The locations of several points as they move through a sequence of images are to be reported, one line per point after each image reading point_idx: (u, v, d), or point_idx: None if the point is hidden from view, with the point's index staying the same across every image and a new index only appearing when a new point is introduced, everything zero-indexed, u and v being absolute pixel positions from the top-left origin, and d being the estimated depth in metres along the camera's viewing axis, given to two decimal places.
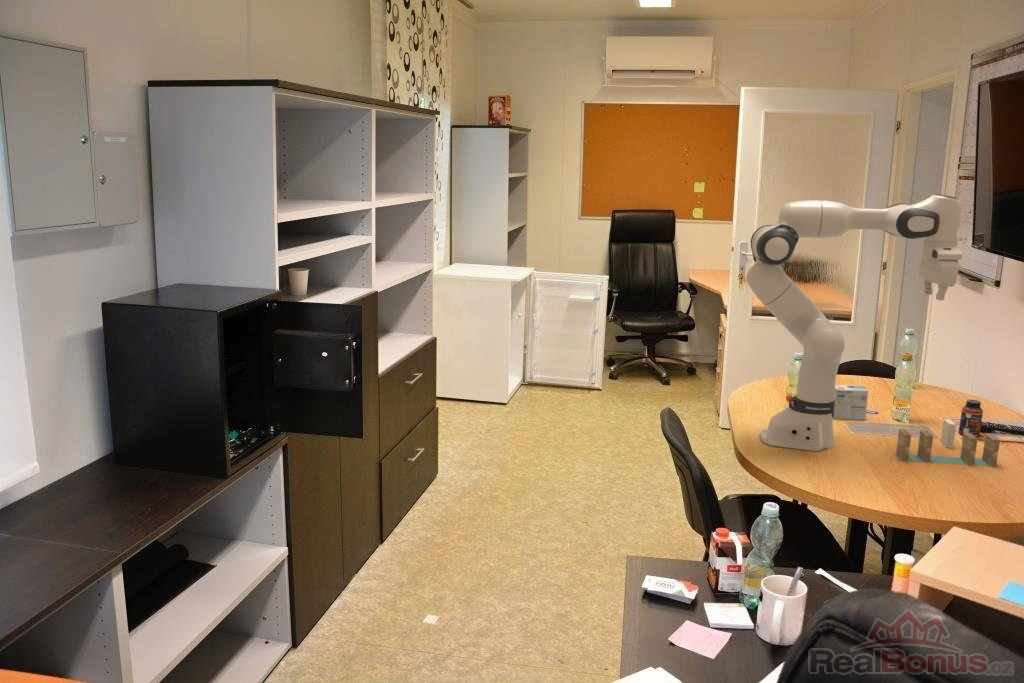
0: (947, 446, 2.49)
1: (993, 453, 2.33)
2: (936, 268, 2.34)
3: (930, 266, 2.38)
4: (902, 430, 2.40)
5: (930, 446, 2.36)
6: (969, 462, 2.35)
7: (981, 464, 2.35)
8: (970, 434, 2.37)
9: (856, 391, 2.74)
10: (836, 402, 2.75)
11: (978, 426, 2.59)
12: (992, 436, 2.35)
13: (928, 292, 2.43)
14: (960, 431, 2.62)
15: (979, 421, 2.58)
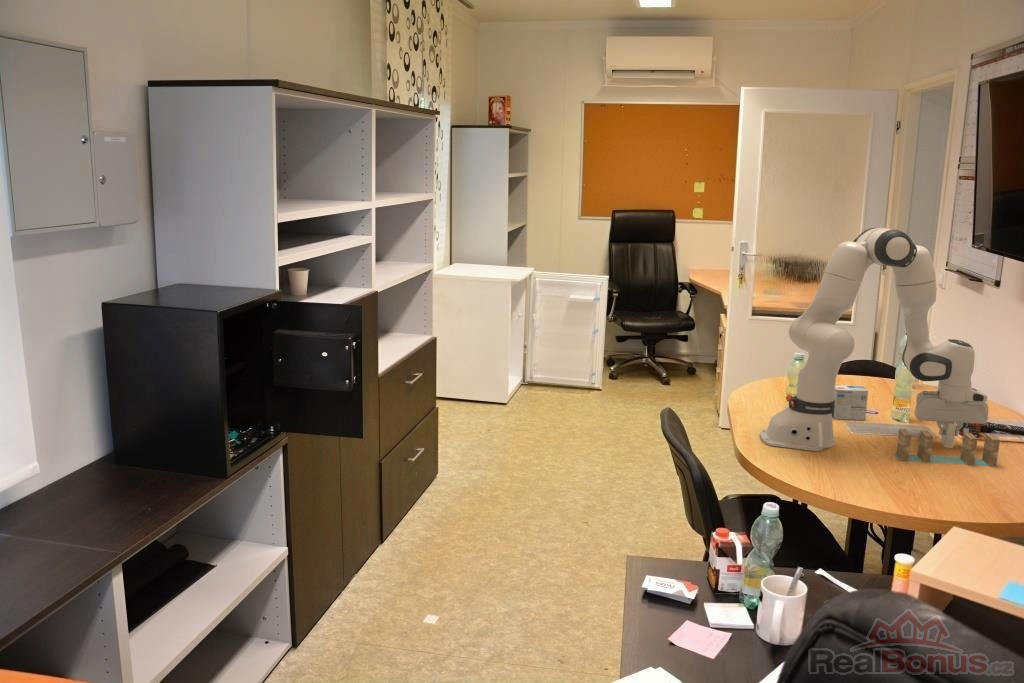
0: (947, 446, 2.49)
1: (993, 453, 2.33)
2: (966, 409, 2.46)
3: (950, 408, 2.47)
4: (902, 430, 2.40)
5: (930, 446, 2.36)
6: (969, 462, 2.35)
7: (981, 464, 2.35)
8: (970, 434, 2.37)
9: (856, 391, 2.74)
10: (836, 402, 2.75)
11: (978, 426, 2.59)
12: (992, 436, 2.35)
13: None
14: (960, 431, 2.62)
15: None
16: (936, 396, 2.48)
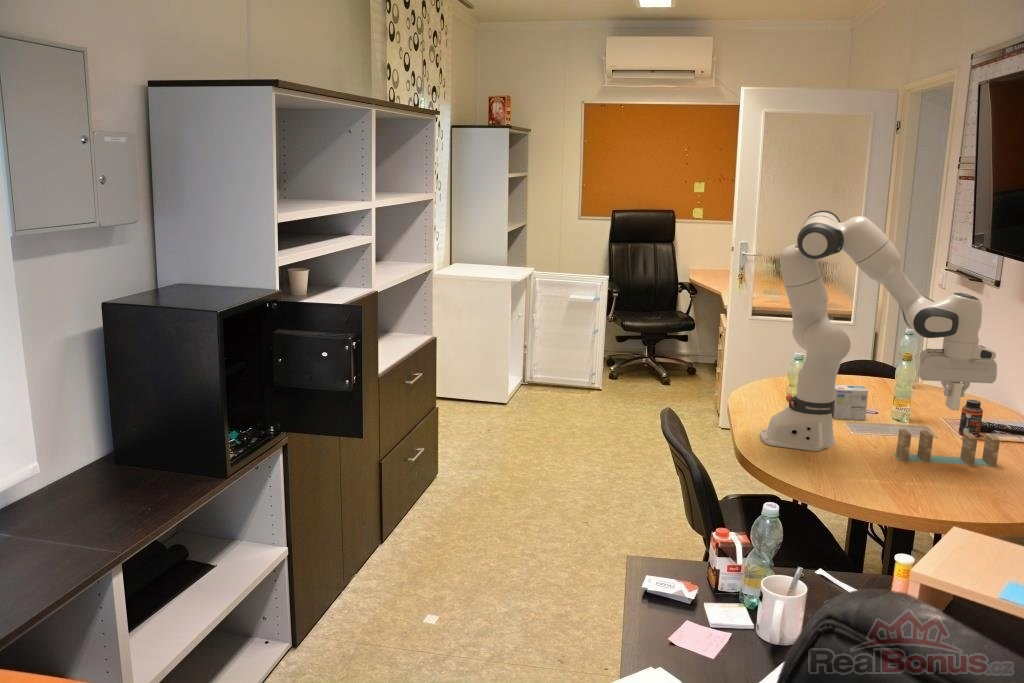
0: (953, 407, 2.32)
1: (993, 453, 2.33)
2: (973, 367, 2.30)
3: (956, 367, 2.31)
4: (902, 430, 2.40)
5: (930, 446, 2.36)
6: (969, 462, 2.35)
7: (981, 464, 2.35)
8: (970, 434, 2.37)
9: (856, 391, 2.74)
10: (836, 402, 2.75)
11: (978, 426, 2.59)
12: (992, 436, 2.35)
13: None
14: (960, 431, 2.62)
15: (979, 421, 2.58)
16: (941, 354, 2.32)
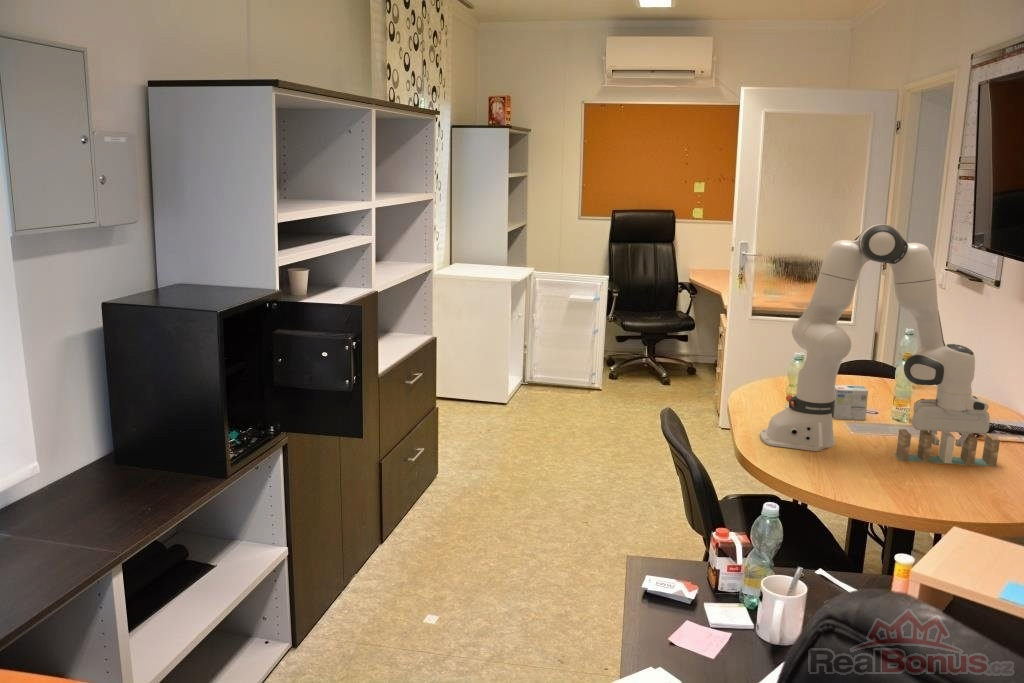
0: (945, 460, 2.36)
1: (993, 453, 2.33)
2: (966, 418, 2.33)
3: (949, 418, 2.34)
4: (902, 430, 2.40)
5: (930, 446, 2.36)
6: (969, 462, 2.35)
7: (981, 464, 2.35)
8: (970, 434, 2.37)
9: (856, 391, 2.74)
10: (836, 402, 2.75)
11: None
12: (992, 436, 2.35)
13: None
14: None
15: None
16: (934, 404, 2.35)
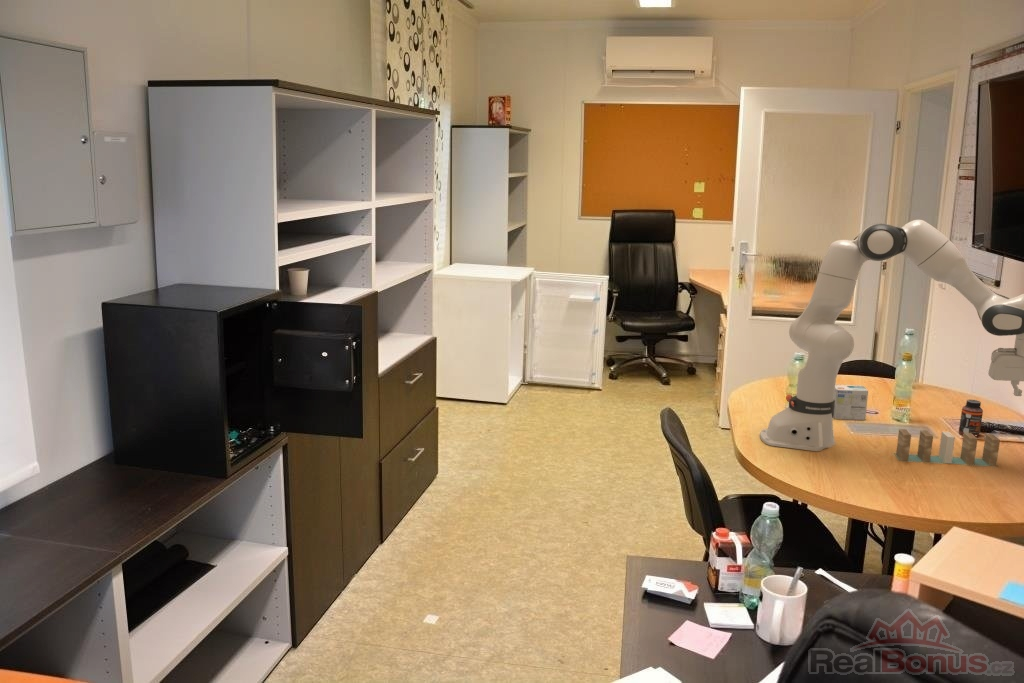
0: (945, 460, 2.36)
1: (993, 453, 2.33)
2: None
3: None
4: (902, 430, 2.40)
5: (930, 446, 2.36)
6: (969, 462, 2.35)
7: (981, 464, 2.35)
8: (970, 434, 2.37)
9: (856, 391, 2.74)
10: (836, 402, 2.75)
11: (978, 426, 2.59)
12: (992, 436, 2.35)
13: None
14: (960, 431, 2.62)
15: (979, 421, 2.58)
16: (1013, 353, 2.28)
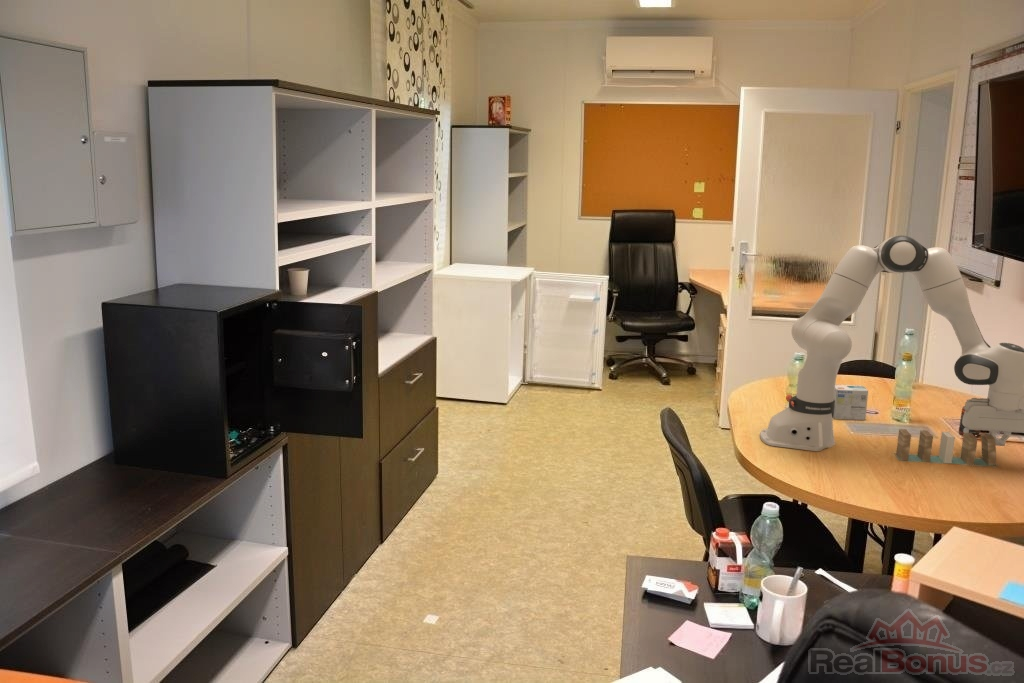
0: (945, 460, 2.36)
1: (991, 453, 2.33)
2: (1018, 418, 2.31)
3: (1001, 417, 2.32)
4: (902, 430, 2.40)
5: (930, 446, 2.36)
6: (969, 462, 2.35)
7: (981, 464, 2.35)
8: (970, 434, 2.37)
9: (856, 391, 2.74)
10: (836, 402, 2.75)
11: None
12: (987, 436, 2.35)
13: None
14: (960, 431, 2.62)
15: None
16: (986, 404, 2.33)
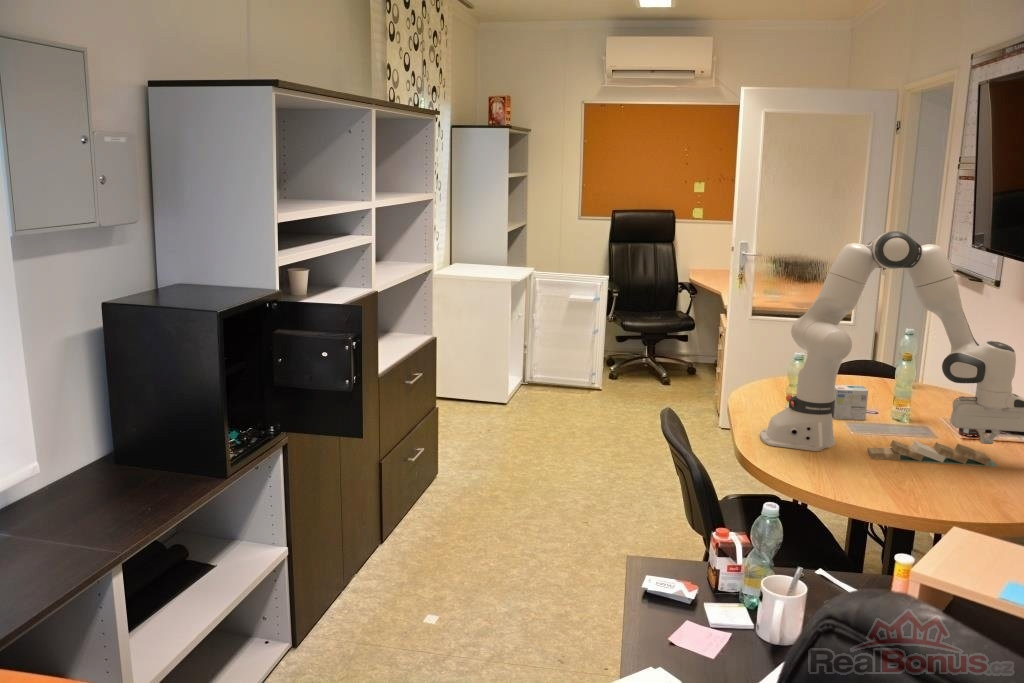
0: (940, 460, 2.36)
1: (976, 458, 2.34)
2: (1006, 416, 2.31)
3: (989, 415, 2.32)
4: (868, 453, 2.43)
5: (907, 450, 2.37)
6: (964, 461, 2.35)
7: (981, 464, 2.35)
8: (936, 445, 2.39)
9: (856, 391, 2.74)
10: (836, 402, 2.75)
11: None
12: (958, 448, 2.38)
13: None
14: (960, 431, 2.62)
15: None
16: (974, 402, 2.33)
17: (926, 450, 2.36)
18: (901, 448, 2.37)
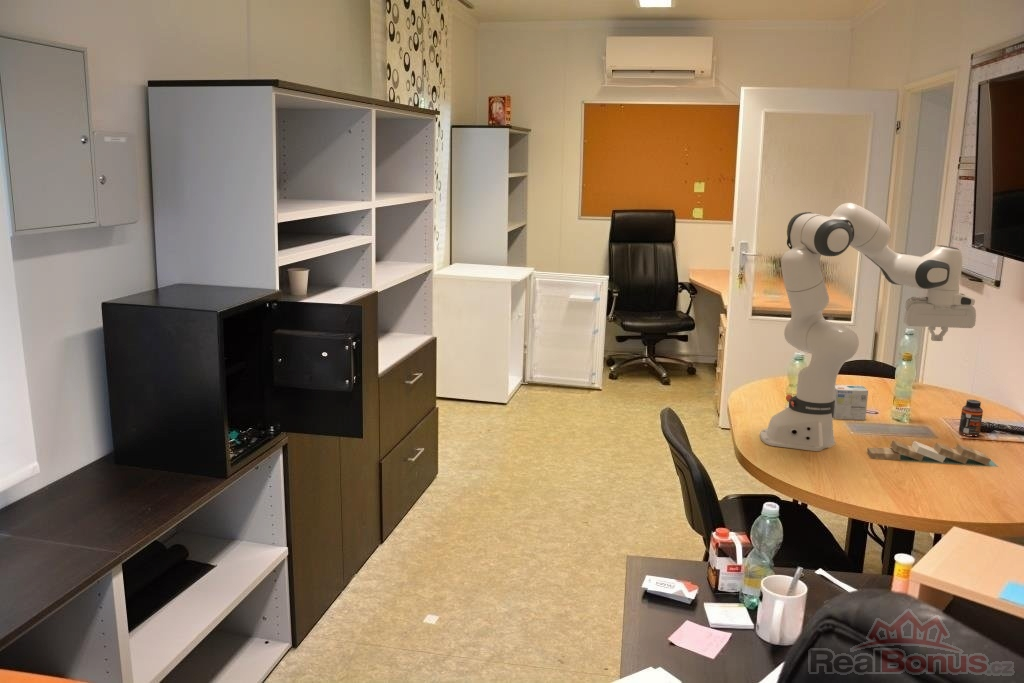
0: (940, 460, 2.36)
1: (976, 458, 2.34)
2: (954, 313, 2.51)
3: (938, 313, 2.52)
4: (868, 453, 2.43)
5: (907, 450, 2.37)
6: (964, 461, 2.35)
7: (981, 464, 2.35)
8: (936, 445, 2.39)
9: (856, 391, 2.74)
10: (836, 402, 2.75)
11: (978, 426, 2.59)
12: (958, 448, 2.38)
13: None
14: (960, 431, 2.62)
15: (979, 421, 2.58)
16: (925, 301, 2.53)
17: (926, 450, 2.36)
18: (901, 448, 2.37)
